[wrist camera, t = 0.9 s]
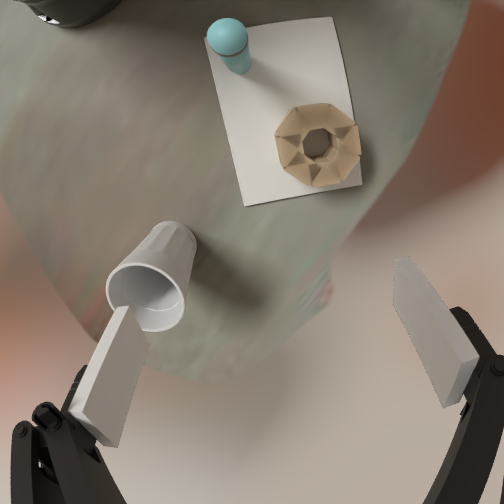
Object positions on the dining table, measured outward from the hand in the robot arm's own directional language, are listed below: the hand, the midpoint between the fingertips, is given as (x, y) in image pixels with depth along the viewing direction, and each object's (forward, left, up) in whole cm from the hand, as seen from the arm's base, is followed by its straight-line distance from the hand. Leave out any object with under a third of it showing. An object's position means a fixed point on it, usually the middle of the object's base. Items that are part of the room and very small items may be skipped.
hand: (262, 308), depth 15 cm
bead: (-4, +7, -23) cm, 24 cm away
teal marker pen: (-14, +1, -23) cm, 27 cm away
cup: (+5, -12, -23) cm, 27 cm away
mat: (-8, +5, -23) cm, 25 cm away
